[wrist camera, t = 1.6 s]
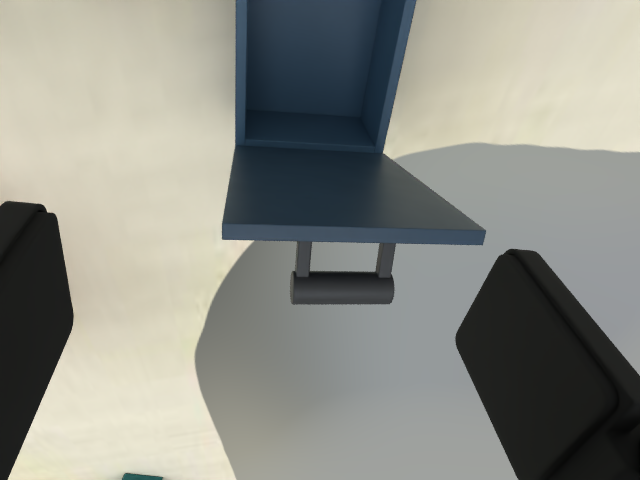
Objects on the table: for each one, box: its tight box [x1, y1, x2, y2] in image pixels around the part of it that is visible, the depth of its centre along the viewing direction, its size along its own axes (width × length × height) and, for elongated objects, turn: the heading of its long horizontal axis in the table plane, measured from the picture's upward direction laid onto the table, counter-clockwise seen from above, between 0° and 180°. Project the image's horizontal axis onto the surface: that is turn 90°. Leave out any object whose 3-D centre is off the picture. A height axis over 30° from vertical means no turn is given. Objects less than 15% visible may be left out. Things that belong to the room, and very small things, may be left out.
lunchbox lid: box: [222, 145, 486, 304], centre depth 30 cm, size 18×13×5 cm
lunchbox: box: [235, 0, 416, 154], centre depth 35 cm, size 18×13×7 cm
